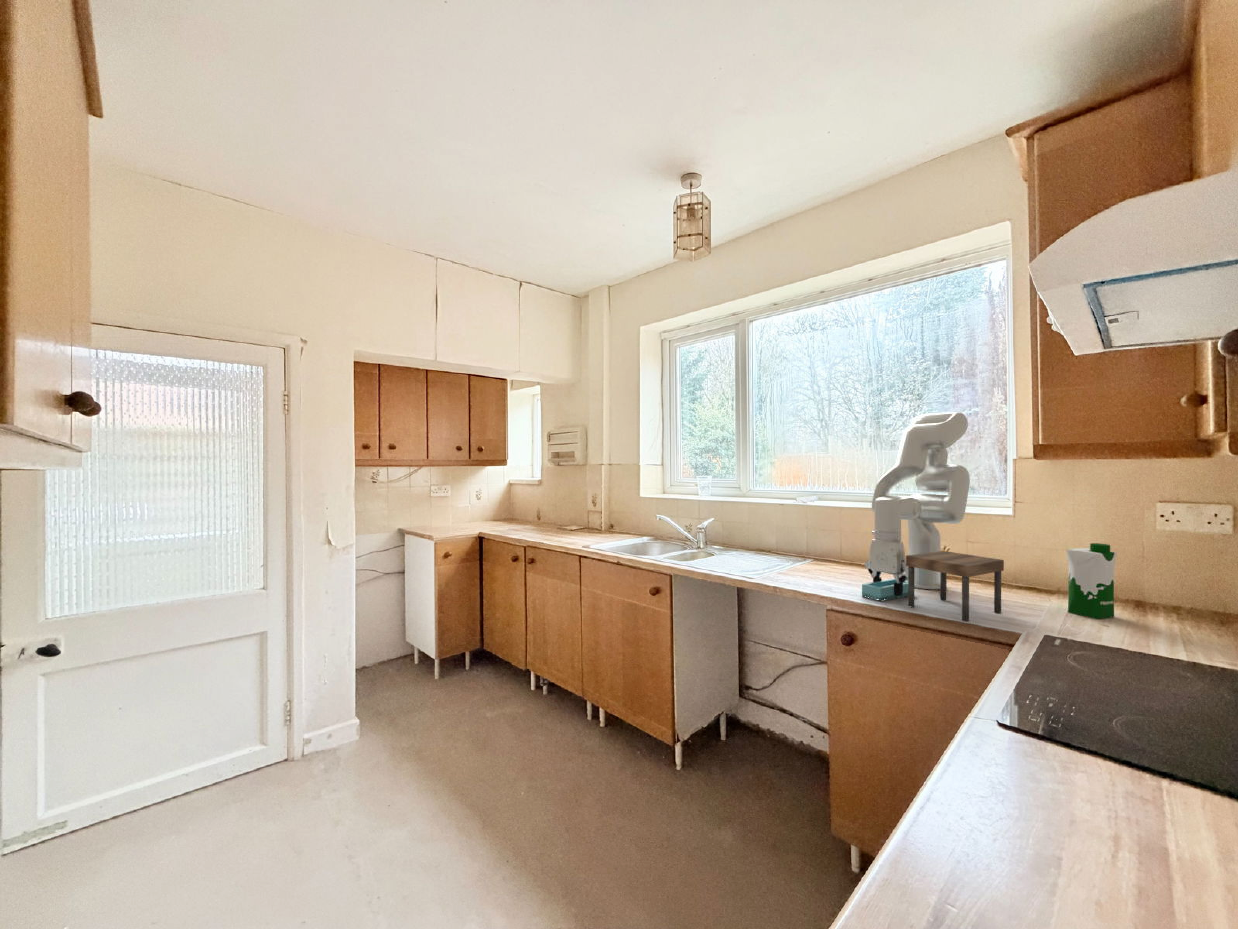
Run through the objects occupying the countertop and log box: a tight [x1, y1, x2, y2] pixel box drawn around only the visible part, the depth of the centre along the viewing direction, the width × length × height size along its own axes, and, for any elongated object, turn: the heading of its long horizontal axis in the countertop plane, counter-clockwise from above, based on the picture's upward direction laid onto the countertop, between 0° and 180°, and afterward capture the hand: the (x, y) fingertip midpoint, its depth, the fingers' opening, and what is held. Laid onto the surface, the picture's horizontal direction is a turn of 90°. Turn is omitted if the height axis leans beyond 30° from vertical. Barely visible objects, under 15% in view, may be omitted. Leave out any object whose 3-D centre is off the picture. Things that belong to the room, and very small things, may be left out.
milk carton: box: [1066, 542, 1118, 620], centre depth 142 cm, size 9×9×20 cm
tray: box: [861, 578, 908, 600], centre depth 162 cm, size 6×16×4 cm, turn 117°
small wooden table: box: [905, 550, 1005, 623], centre depth 147 cm, size 17×18×15 cm
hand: (887, 592), depth 162 cm, fingers closed on tray, 6 cm apart
